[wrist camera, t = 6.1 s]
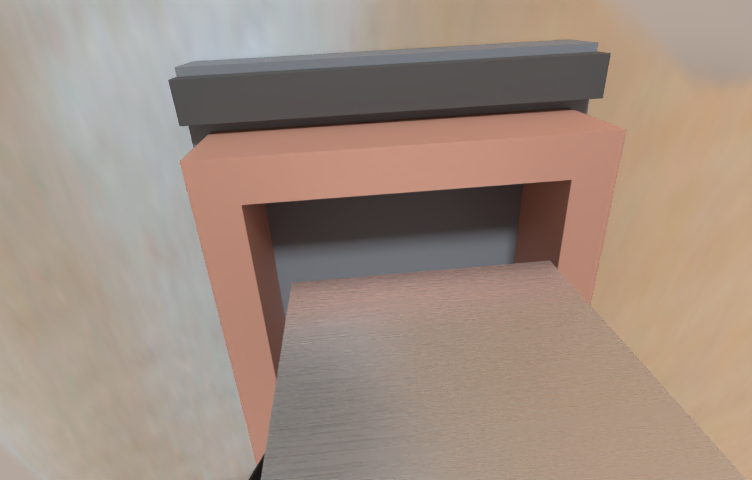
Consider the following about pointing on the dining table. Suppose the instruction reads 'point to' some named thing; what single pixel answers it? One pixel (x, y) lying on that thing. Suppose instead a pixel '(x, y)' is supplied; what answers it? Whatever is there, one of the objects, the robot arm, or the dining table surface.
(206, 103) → the frame
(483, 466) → the block
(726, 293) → the dining table surface
